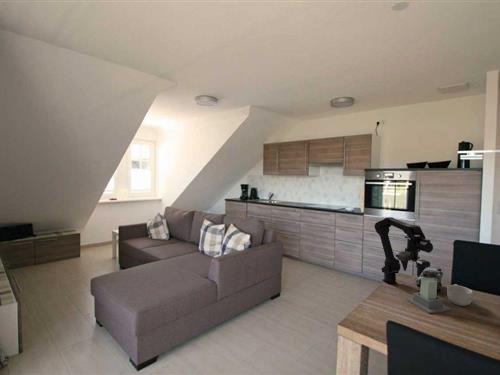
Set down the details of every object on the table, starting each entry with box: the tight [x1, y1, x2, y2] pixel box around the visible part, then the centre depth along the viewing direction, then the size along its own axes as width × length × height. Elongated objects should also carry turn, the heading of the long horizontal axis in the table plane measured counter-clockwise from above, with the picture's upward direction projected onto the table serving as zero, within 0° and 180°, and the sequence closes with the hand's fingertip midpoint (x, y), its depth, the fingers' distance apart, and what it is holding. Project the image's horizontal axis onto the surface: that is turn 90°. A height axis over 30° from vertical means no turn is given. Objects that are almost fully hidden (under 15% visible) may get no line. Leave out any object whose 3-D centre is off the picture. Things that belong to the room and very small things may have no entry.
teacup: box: [446, 283, 473, 307], centre depth 144 cm, size 14×11×8 cm
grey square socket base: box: [405, 291, 452, 315], centre depth 140 cm, size 14×14×5 cm
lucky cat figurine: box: [414, 267, 444, 291], centre depth 162 cm, size 15×12×14 cm
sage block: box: [419, 278, 438, 300], centre depth 140 cm, size 5×5×13 cm
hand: (411, 273), depth 153 cm, fingers open, 9 cm apart
